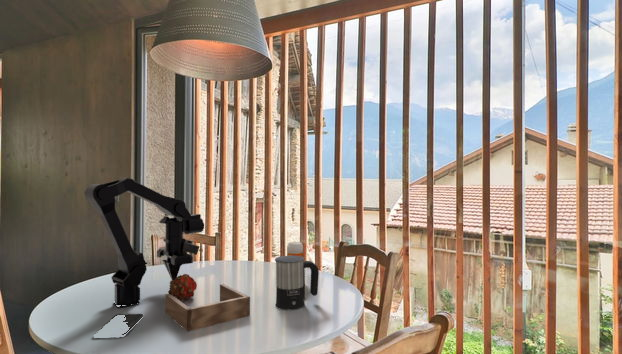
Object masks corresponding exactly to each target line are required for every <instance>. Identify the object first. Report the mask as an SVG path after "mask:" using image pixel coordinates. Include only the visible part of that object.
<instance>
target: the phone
mask: <svg viewBox="0 0 622 354" xmlns="http://www.w3.org/2000/svg"><path fill="white" fill-rule="evenodd" d="M117 315H125V317H126V320H125V321H123V322H128V323H126V324H127V325H128V327H130V328H129V330H130V329H131V328H132V327H133V326H134V325H135V324H136V323H137V322H138V321H139V320H140V319H141V318H142V317H143V318H144V314H143V313H122V314H120V313H119V314H115V315H114V316H113V317H112V318H114V317H115V316H117ZM125 317H124V318H125ZM143 318H142V319H143ZM142 319H141V320H142ZM129 330H128V331H129ZM128 331H127V332H128ZM127 332H126V333H127ZM126 333H124V334H126ZM124 334H122V335H124Z"/></svg>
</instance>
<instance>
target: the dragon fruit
mask: <svg viewBox="0 0 622 354" xmlns="http://www.w3.org/2000/svg"><path fill="white" fill-rule="evenodd" d="M197 286H198V285H197V281H195V279H194V278H193V277H192V276H190V275H189V274H187V273H183V274H182V275H181V274H180V275H178V276H177V277H176V278H175V280H172V279H170V281H169V290H168V291H167V294H171V295H172V296H174V297H175V298H176V299H178V300H179V301H182V300H183V301H184V300H186V298H188V299H190V298H193V297H194V295H195V291H196V290H197Z"/></svg>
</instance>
